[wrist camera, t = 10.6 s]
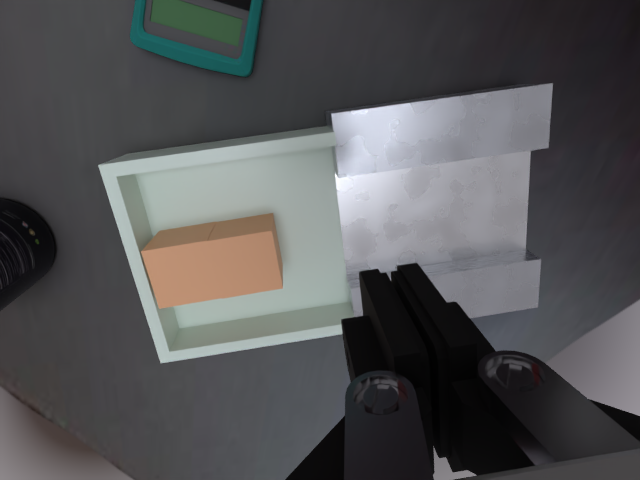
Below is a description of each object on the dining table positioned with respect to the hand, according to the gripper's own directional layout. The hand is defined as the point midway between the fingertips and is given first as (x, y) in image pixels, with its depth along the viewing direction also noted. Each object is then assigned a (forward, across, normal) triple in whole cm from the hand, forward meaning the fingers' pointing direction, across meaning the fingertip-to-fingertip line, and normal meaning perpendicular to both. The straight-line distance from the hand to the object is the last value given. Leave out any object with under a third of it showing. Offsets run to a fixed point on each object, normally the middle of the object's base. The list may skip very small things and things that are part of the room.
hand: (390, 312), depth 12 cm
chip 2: (+18, +6, +4) cm, 19 cm away
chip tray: (+20, +7, +4) cm, 21 cm away
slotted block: (+20, -7, +4) cm, 21 cm away
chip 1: (+18, +10, +4) cm, 21 cm away
